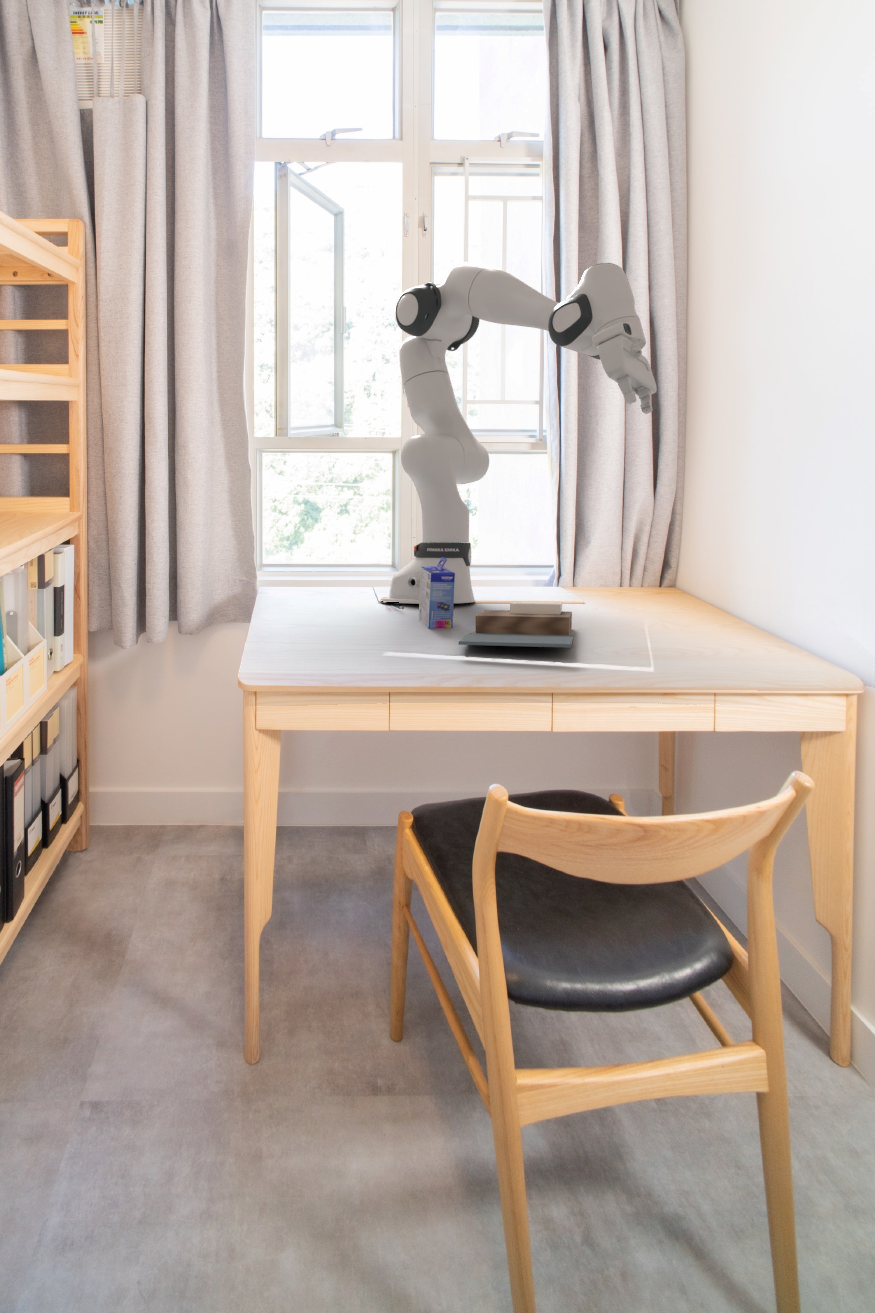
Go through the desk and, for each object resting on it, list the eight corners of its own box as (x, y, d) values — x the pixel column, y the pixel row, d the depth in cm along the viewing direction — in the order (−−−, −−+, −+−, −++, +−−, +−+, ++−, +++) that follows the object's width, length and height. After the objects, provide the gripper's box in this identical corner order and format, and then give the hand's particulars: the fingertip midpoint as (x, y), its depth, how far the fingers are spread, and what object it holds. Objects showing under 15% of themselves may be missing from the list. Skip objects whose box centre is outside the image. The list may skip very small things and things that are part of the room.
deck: (475, 636, 184) (475, 615, 184) (484, 628, 198) (484, 609, 197) (568, 638, 181) (569, 617, 181) (571, 631, 195) (571, 611, 194)
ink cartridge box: (454, 631, 194) (456, 561, 190) (428, 632, 192) (429, 561, 189) (443, 622, 203) (444, 554, 200) (417, 622, 202) (419, 554, 198)
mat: (458, 644, 170) (458, 641, 170) (470, 635, 184) (470, 632, 184) (570, 647, 166) (570, 644, 166) (573, 638, 181) (574, 635, 181)
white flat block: (509, 613, 189) (510, 603, 189) (513, 610, 196) (513, 601, 196) (560, 614, 187) (560, 604, 187) (562, 611, 194) (562, 601, 194)
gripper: (625, 361, 197) (642, 423, 195) (587, 334, 180) (605, 402, 178) (654, 348, 194) (671, 411, 192) (618, 320, 176) (637, 389, 175)
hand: (639, 407), depth 185 cm, fingers open, 8 cm apart
